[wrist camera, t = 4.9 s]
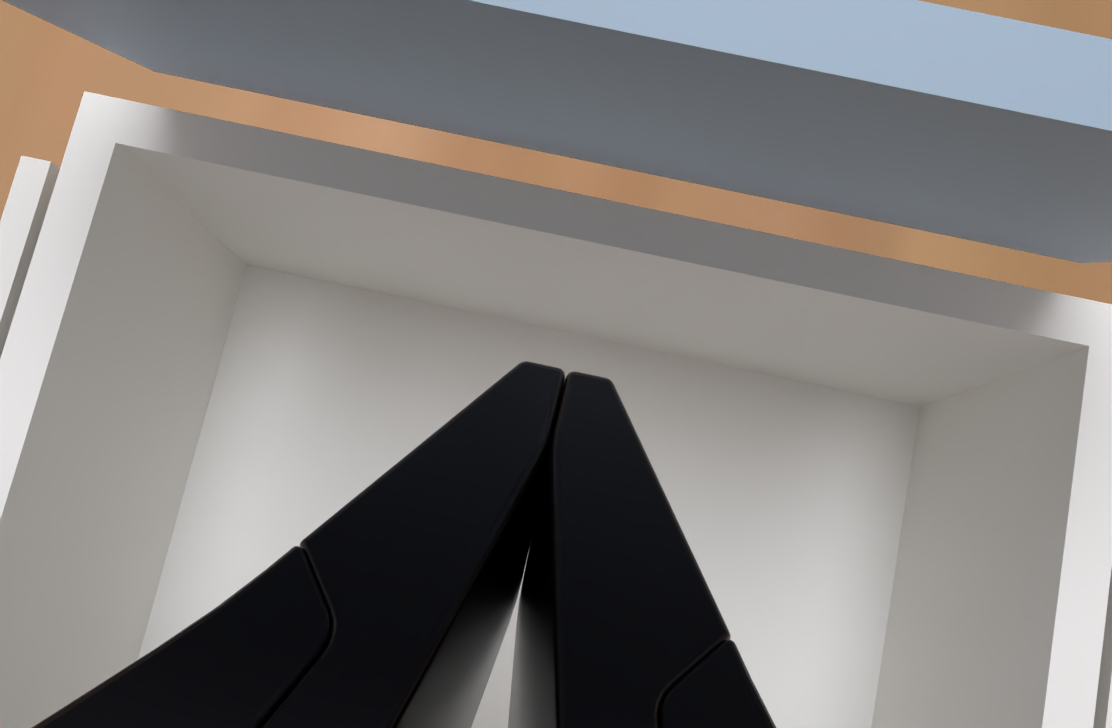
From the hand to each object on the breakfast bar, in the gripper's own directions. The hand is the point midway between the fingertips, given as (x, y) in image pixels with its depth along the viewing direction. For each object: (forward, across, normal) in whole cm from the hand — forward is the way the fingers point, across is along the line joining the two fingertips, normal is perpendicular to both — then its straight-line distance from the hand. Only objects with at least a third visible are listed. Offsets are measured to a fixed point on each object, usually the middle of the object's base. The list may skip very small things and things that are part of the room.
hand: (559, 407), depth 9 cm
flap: (+5, 0, 0) cm, 5 cm away
